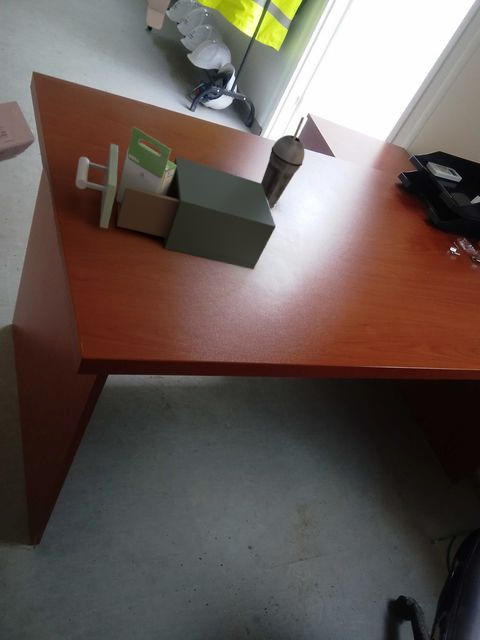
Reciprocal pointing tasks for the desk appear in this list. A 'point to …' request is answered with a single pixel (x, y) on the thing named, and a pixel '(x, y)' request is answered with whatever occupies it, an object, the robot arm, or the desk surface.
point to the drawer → (131, 199)
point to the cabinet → (219, 216)
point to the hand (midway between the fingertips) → (151, 13)
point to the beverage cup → (282, 165)
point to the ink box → (146, 166)
